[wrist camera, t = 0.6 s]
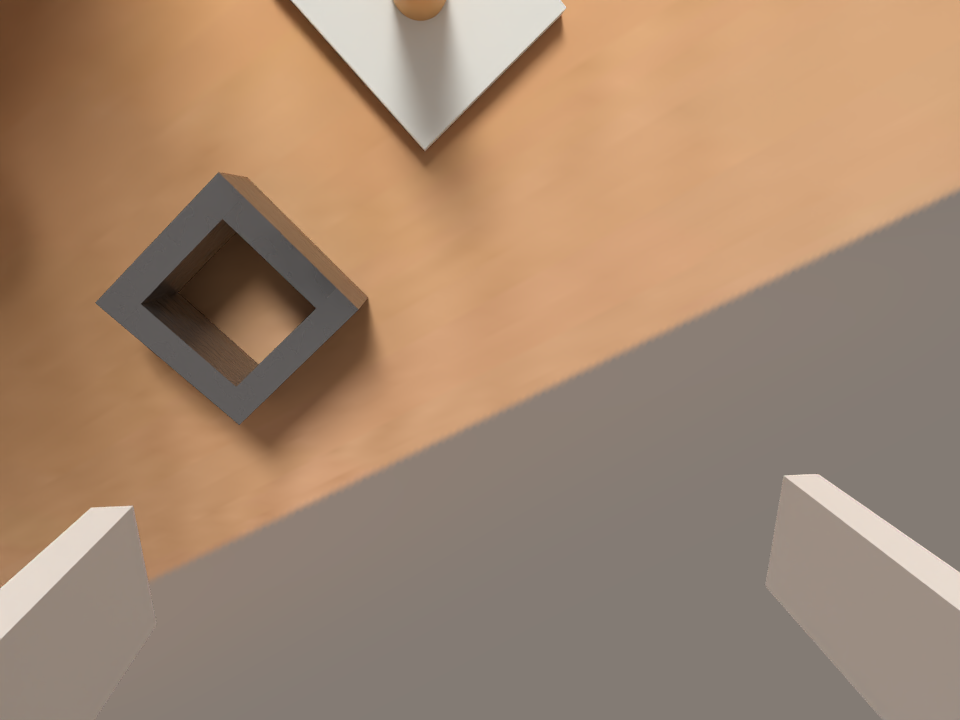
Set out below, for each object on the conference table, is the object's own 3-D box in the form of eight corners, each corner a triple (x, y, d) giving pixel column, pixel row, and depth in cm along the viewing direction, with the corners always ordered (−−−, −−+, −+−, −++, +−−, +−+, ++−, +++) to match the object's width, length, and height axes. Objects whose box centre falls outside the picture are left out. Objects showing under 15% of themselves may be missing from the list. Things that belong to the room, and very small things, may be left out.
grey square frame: (138, 291, 31) (95, 302, 27) (247, 177, 29) (218, 172, 26) (262, 399, 33) (239, 424, 29) (368, 297, 32) (358, 309, 28)
